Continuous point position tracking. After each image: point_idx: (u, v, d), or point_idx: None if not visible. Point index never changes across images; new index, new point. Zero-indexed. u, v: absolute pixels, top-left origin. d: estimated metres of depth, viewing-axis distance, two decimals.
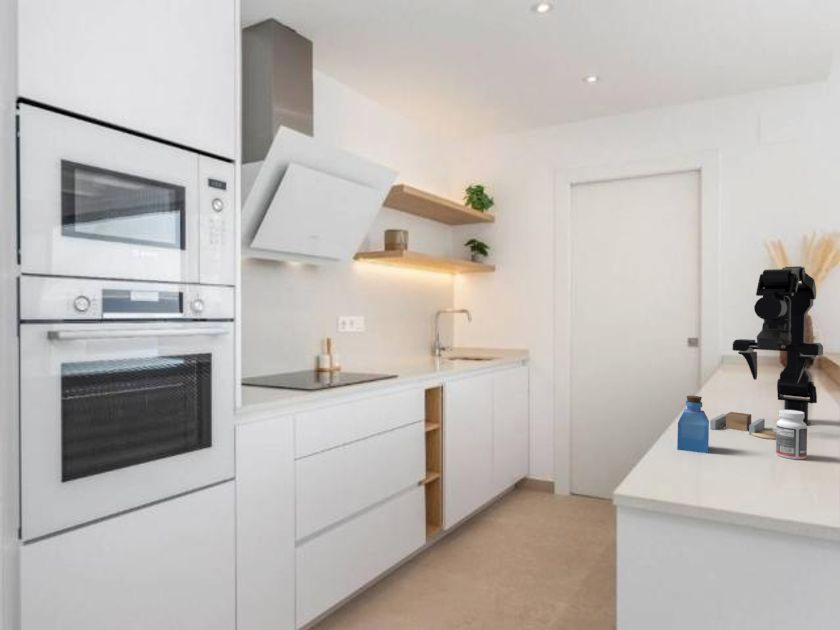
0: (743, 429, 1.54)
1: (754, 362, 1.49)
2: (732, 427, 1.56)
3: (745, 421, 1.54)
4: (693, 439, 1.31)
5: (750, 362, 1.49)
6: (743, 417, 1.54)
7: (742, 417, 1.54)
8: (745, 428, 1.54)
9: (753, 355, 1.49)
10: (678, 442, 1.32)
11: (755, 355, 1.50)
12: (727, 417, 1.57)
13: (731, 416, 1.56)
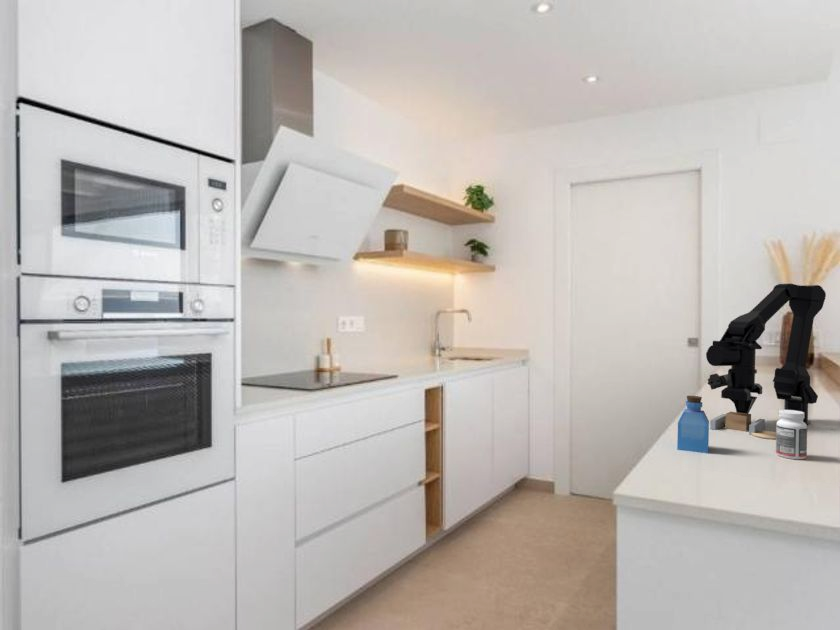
0: (742, 429, 1.54)
1: None
2: (731, 427, 1.55)
3: (744, 421, 1.53)
4: (693, 439, 1.31)
5: None
6: (743, 416, 1.53)
7: (741, 417, 1.54)
8: (744, 428, 1.53)
9: None
10: (678, 442, 1.32)
11: None
12: (726, 417, 1.56)
13: (730, 416, 1.55)
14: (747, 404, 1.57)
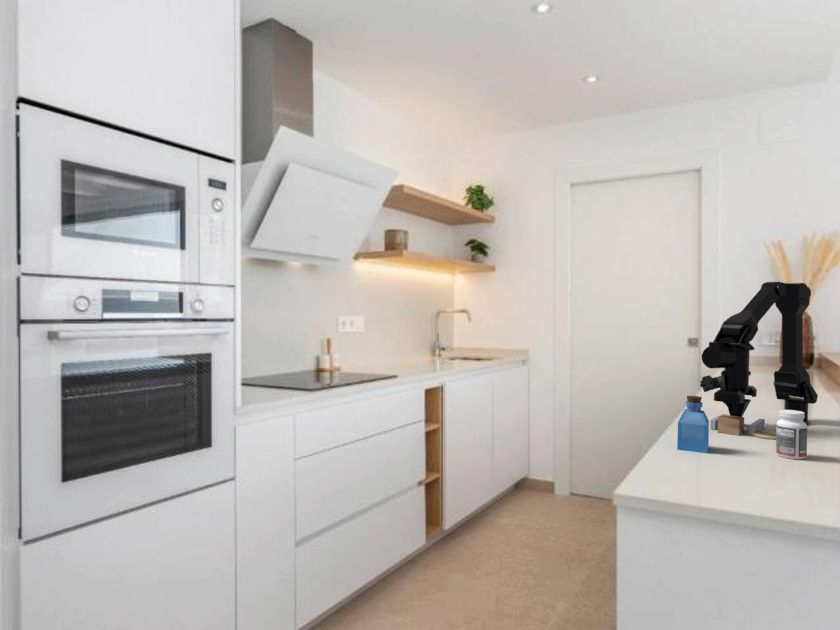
0: (735, 433, 1.48)
1: None
2: (724, 431, 1.50)
3: (737, 425, 1.48)
4: (693, 439, 1.31)
5: None
6: (735, 420, 1.48)
7: (734, 420, 1.49)
8: (737, 432, 1.48)
9: None
10: (678, 442, 1.32)
11: None
12: (719, 420, 1.51)
13: (723, 419, 1.50)
14: (741, 407, 1.52)
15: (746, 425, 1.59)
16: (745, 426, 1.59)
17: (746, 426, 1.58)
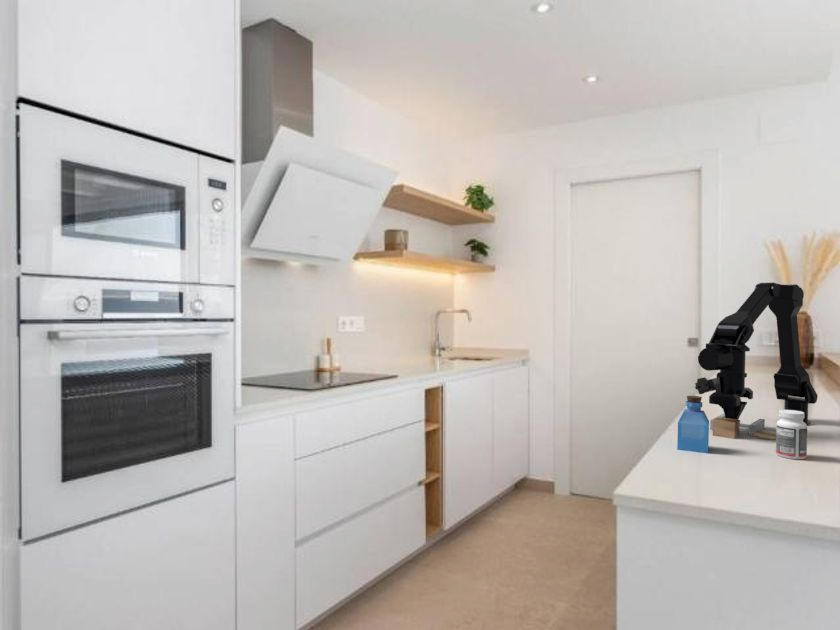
0: (731, 436, 1.45)
1: None
2: (719, 434, 1.47)
3: (733, 427, 1.45)
4: (693, 439, 1.31)
5: None
6: (731, 422, 1.45)
7: (729, 423, 1.45)
8: (733, 435, 1.45)
9: None
10: (678, 442, 1.32)
11: None
12: (714, 423, 1.48)
13: (718, 422, 1.47)
14: (736, 410, 1.48)
15: (746, 425, 1.59)
16: (745, 426, 1.59)
17: (746, 426, 1.58)
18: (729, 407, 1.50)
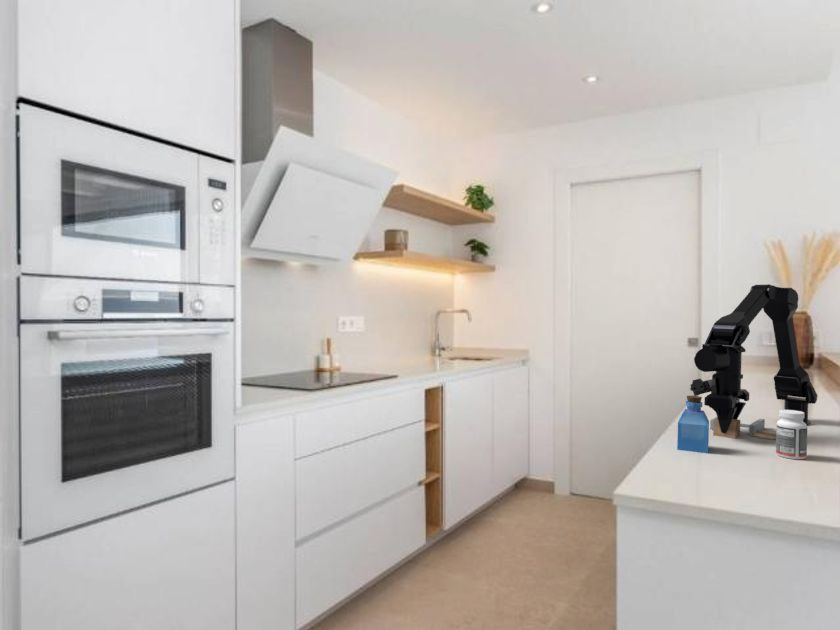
0: (731, 436, 1.45)
1: None
2: (720, 434, 1.47)
3: (733, 427, 1.45)
4: (693, 439, 1.31)
5: None
6: (731, 422, 1.45)
7: None
8: (733, 435, 1.45)
9: None
10: (678, 442, 1.32)
11: (736, 406, 1.49)
12: (714, 423, 1.48)
13: None
14: (730, 413, 1.44)
15: (746, 425, 1.59)
16: (745, 426, 1.59)
17: (746, 426, 1.58)
18: (722, 410, 1.45)
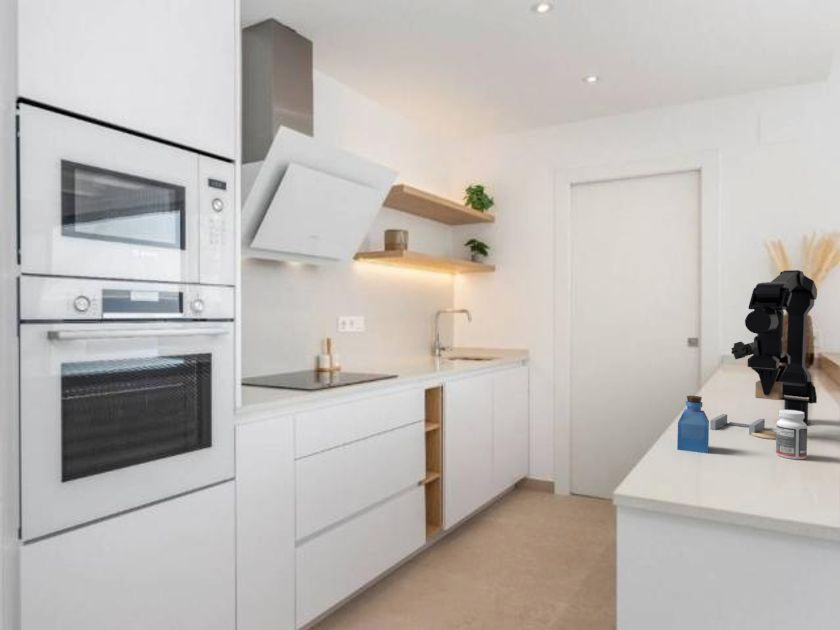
0: (774, 397, 1.45)
1: None
2: (762, 396, 1.47)
3: (776, 389, 1.45)
4: (693, 439, 1.31)
5: None
6: (774, 384, 1.45)
7: (773, 385, 1.45)
8: (776, 396, 1.45)
9: None
10: (678, 442, 1.32)
11: None
12: (757, 385, 1.48)
13: None
14: (773, 375, 1.43)
15: (746, 425, 1.59)
16: (745, 426, 1.59)
17: (746, 426, 1.58)
18: (765, 372, 1.45)
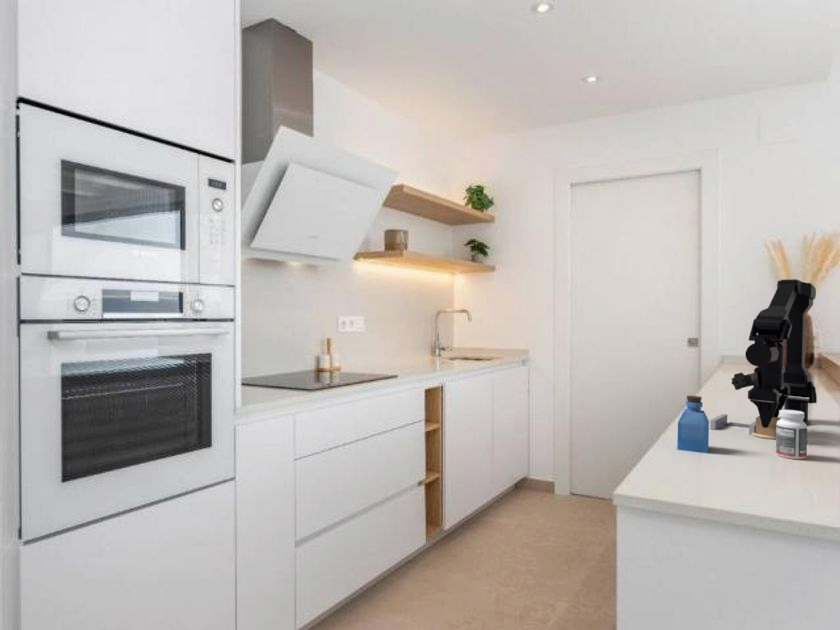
0: (774, 434, 1.45)
1: None
2: (762, 432, 1.47)
3: None
4: (693, 439, 1.31)
5: None
6: (775, 421, 1.45)
7: (773, 421, 1.45)
8: None
9: None
10: (678, 442, 1.32)
11: (779, 399, 1.51)
12: (757, 421, 1.48)
13: None
14: (772, 408, 1.42)
15: (746, 425, 1.59)
16: (745, 426, 1.59)
17: (746, 426, 1.58)
18: (764, 405, 1.44)
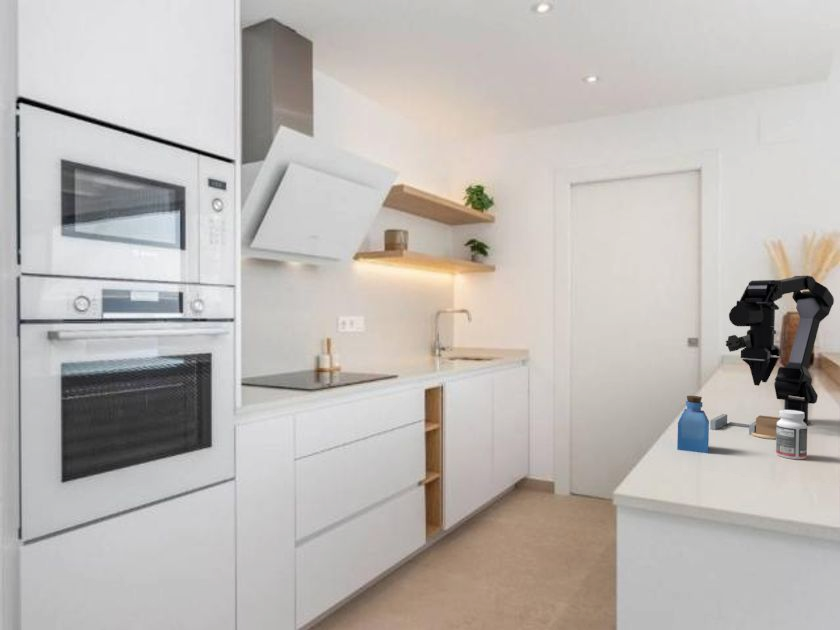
0: (775, 434, 1.45)
1: None
2: (763, 432, 1.47)
3: None
4: (693, 439, 1.31)
5: None
6: (775, 421, 1.45)
7: (774, 421, 1.45)
8: None
9: None
10: (678, 442, 1.32)
11: (770, 360, 1.61)
12: (757, 421, 1.48)
13: (761, 420, 1.47)
14: (763, 366, 1.52)
15: (746, 425, 1.59)
16: (745, 426, 1.59)
17: (746, 426, 1.58)
18: (755, 364, 1.54)
